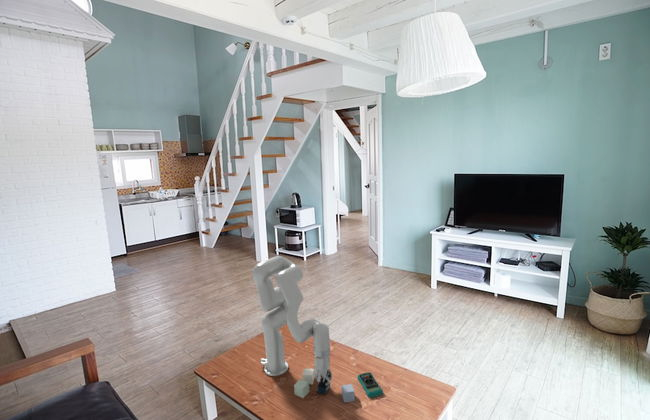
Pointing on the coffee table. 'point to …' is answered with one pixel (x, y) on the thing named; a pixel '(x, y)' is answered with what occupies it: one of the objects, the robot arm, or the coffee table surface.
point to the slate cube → (348, 393)
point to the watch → (327, 377)
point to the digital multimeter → (370, 385)
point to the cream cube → (308, 375)
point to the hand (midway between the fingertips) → (323, 385)
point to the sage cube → (301, 388)
